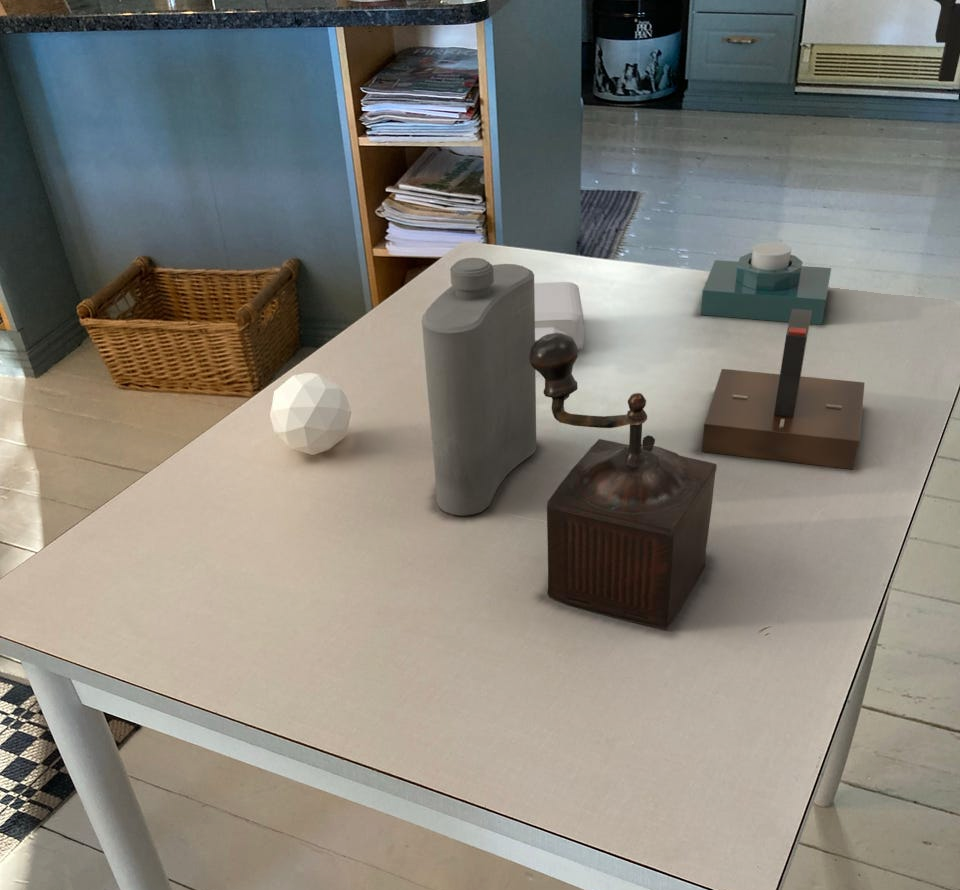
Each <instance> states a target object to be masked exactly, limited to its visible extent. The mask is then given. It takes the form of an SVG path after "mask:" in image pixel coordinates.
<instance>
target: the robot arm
mask: <svg viewBox="0 0 960 890" xmlns="http://www.w3.org/2000/svg"><path fill="white" fill-rule="evenodd" d="M933 1H935V2H937V3H938V4H939V5H940V10H939V14H938V19H937V24H936V29H935V34H934V35H935V42H936V43H938V44H944V47H943V52H942V56H941V60H940V65H939V69H938V74H937V81H938V82H947V83H948V82H949V83H950V82H951V83H952V82H953V83H954V82H955V78H956V74H957V70H958V66H959V62H960V61H959V60H960V2H957V0H933Z"/></svg>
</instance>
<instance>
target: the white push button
mask: <svg viewBox="0 0 960 890" xmlns="http://www.w3.org/2000/svg"><path fill="white" fill-rule="evenodd" d="M751 253H752V259H751V266H752V267H755V268H759V269H762V270H780V269H786V268H788V267H789V262H790V256H791V255H792V248H791V246H790V245H788V244H786V243H783V242H777V241H765V242H758V243H756V244H754V245H753V246H752V251H751Z"/></svg>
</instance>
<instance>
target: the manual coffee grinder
mask: <svg viewBox="0 0 960 890" xmlns="http://www.w3.org/2000/svg"><path fill="white" fill-rule="evenodd" d="M578 354H579V350H578V348H577V345H576V343H575V341H574V340H573V338H572V337H570V336H567V335H565V334H562V333H552V334H547V335H545V336H543V337H541V338H540V339H539V340H538V341H536V342H535V343H534V344H533V346H532V347H531V351H530V355H529V360H530V364H531V366H532V367H533V368H534V369H535V371H537V372H538V373H539V374H540V375H541V376H542V377H543V379H544V389H543V391H542V392H543V395H544V396H545V397H546V398H551V412H552V415H553V418H554V419H555V420H556V421H558V423H560V424H564V425H569V426H573V427H583V428H594V429H595V428H596V429H597V428H598V429H614V428H619V427H624V426H628V425H629V441H628V442H629V443H628V444H625V443H621V442H616V441H611V440H606V439H601V438H598V439H597V441H596V442H595V443H594V444H593V445H592V446H591V447H590V448H589V449H588V451H586V453H585V454H584V455H583V456H582V457H581V458H580V460H579V461H578V462H577V463H576V464H575V465H574V466H573V468H571V470H570V471H569V473H568V474H567V475H566V476H565V478H564V479H563V480H562V481H561V483H560V484H559V485H558V487H557V488H556V489H555V490H554V492H553V494H552V495H551V496H550V498H548V500H547V501H546V531H547V533H546V535H547V536H546V537H547V592H546V593H547V596H548V598H550V599H552V600H554V601H557V602H559V603H562V604H564V605H567V606H571V607H573V608H578V609H581V610H583V611H584V610H585V611H588V612H592V613H595V614H599V615H603V616H606V617H610V618H612V619H613V618H614V619H618V620H622V621H627V622H631V623H635V624H639V625H644V626H648V627H652V628H657V629H661V630H665V631H666V630H667V629H668V628H669V627H670V625H672V623H673V622H674V621H675V619H676V618H677V617H678V615H679V613H680V612H681V610H682V609H683V607H684V605H685V603H686V601H687V599H688V598H689V596H690V595H691V594H692V591H693V589H694V588H695V586H696V584H697V583H698V581H699V579H700V577H701V576H702V573H703V572H704V570H705V568H706V566H707V565H706V564H707V561H706V560H707V545H708V539H709V531H710V524H711V516H712V507H713V499H714V490H715V480H716V473H717V463H714V462H711V461H706V460H702V459H698V458H693V457H688V456H683V455H680V454H678V453H677V452H675V451H672V450H669V449H667V448H663V447H661V446H657V445H655V444H656V443H655V442H656V439H655V437H654V436H652V435H648V434H647V435H645V436H644V437H642V435H643V424H645V422H646V421H647V420H648V414H647V412H646V411H645V407H646V405H647V399H646V398H645V395H643V393H641V392H635V393H632V394H630V396H629V397H628V399H627V404H628V408H629V410H627V413H626V414H618V415H605V416H604V415H589V414H588V415H587V414H578V413H570V412H568V411H566V409H565V401H566V400H568V399H569V398H570V395H571V394H573V393H574V392H576V391H578V387H579V386H578V381H577V380H576V379H575V377H574V376H573V375H574V374H573V368H574V365H575V364H576V362H577V360H578V357H579V356H578Z"/></svg>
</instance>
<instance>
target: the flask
mask: <svg viewBox="0 0 960 890" xmlns="http://www.w3.org/2000/svg"><path fill="white" fill-rule="evenodd" d="M449 270H450V283H451V286H450V287H449V288H447V289H446V290H445V291H444V292H442V293H441V294H440V295H439V296H438V297H437V298H436V299H435V300H434V301H433V302H432V303H431V304H430V305H429V307H428V308H427V309H426V310H425V312H424V313H423V314H422V316H421V317H422V318H421V328H422V329H421V330H422V341H423V354H424V365H425V376H426V387H427V388H426V389H427V397H428V398H427V399H428V412H429V422H430V433H431V434H430V435H431V446H432V456H433V469H434V479H435V491H436V493H435V494H436V501H437V502H436V503H437V505H438V507H439V508H440V509H441V510H442V511H444V512H445V513H447V514H450V515H452V516H459V517H466V516H474V515H477V514H480V513H482V512H483V511H484V510H486V509H487V508H488V507H489V506H490V505H491V503H492V500H493V498H494V496H495V494H496V491H498V490H497V489H498V488H499V486H500V485H501V484H502V482H503V481H504V480H505V478H506V477H507V476H509V474H510V473H511V472H512V471H513V470H514V469H515V468H516V467H518V465H520V464H521V463H523V462H524V461H525V460H527V459H528V458H530V457H531V456H533V455H534V454H535V451H536V450H537V391H536V389H537V388H536V387H537V386H536V385H537V384H536V377H537V376H536V369H534V368H533V367H532V366H531V364H530V360H529V355H530V351H531V347H532V346H533V344H534V343H535V298H534V283H535V273H534V272H533V270H531V269H529V268H528V267H526V266H523V265H520V264H515V263H499V264H498V263H497V264H492V263H490V261H488V260H487V259H484V258H480V257H467V258H462V259H459V260H457V261H456V262H455V263H454V264H452V265H451V267H450V268H449Z"/></svg>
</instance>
